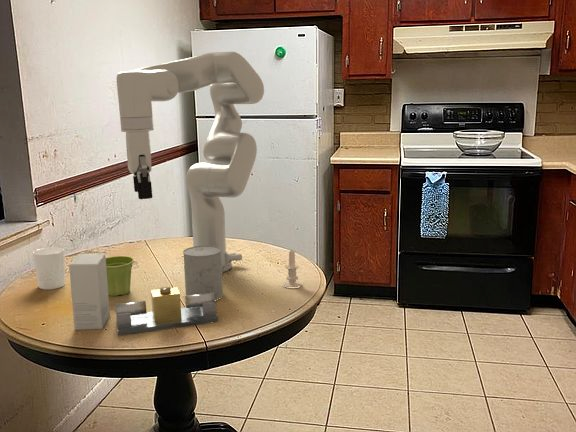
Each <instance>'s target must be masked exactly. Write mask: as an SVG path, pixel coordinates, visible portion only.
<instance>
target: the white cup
mask: <svg viewBox="0 0 576 432" xmlns="http://www.w3.org/2000/svg"><path fill="white" fill-rule="evenodd" d="M32 257H33V265H34V271H35V274H36V275H35V276H36V279H37V284H38V285H37V286H38V288H39V289H41V290H55V289H60V288H61V287H63V286H65V285H66V265H65V264H66V262H65V261H66V260H65V249H64V248H63V247H60V246H49V247H48V246H47V247H42V248H38V249H36V250H35V249H34V250H33V251H32Z"/></svg>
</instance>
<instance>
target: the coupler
mask: <svg viewBox="0 0 576 432" xmlns="http://www.w3.org/2000/svg"><path fill="white" fill-rule="evenodd" d="M150 293H151V294H150V295H151V297H150V298H151V312H152V313H153V318H154V321H155V322H159V321H167V320H174V319H181V308H182V305H181V304H182V303H181V301H182V300H181V293H180V290H179V288H178V287H177V286H176V287H170V286H162V287H160V288H159V289H151V290H150Z"/></svg>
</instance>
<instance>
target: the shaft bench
mask: <svg viewBox="0 0 576 432" xmlns="http://www.w3.org/2000/svg"><path fill="white" fill-rule="evenodd" d="M216 302H217V301H215V298H214V293H213V292H212V293H204V294H195V295H187V296H186V295H184V305H185V306H184V307H181V319H174V320H167V321H159V322H155V321H154V318H153V313H152V311H147V303H146V300H140V301H131V302H124V303H123V302H121V303H115V317H116V327H117V336H126V335H132V334H133V335H134V334H140V333H147V332H153V331H154V332H155V331H162V330H169V329H176V328H184V327H191V325H192V326H197V325H205V324H212V323H211V322H213V323H218V322H219V317H218V316H217V308H216V307H217V304H216ZM217 321H218V322H217Z"/></svg>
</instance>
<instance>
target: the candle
mask: <svg viewBox="0 0 576 432" xmlns="http://www.w3.org/2000/svg"><path fill="white" fill-rule="evenodd" d="M295 251H296V250H294V249H291V250H289V251H288V264H287V265H285V266H284V268H285V269H287V273H288V275H287V276H286V278H285V279H286V280H287V281H284V282H283V283H282V286H283V285H284V286H286V287H298V286H301V285H302V286H303V283H302V282H301V281H298V280H299V276H298V275H297V269H300V265H298V264H296V254H295ZM302 286H301V287H302Z"/></svg>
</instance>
